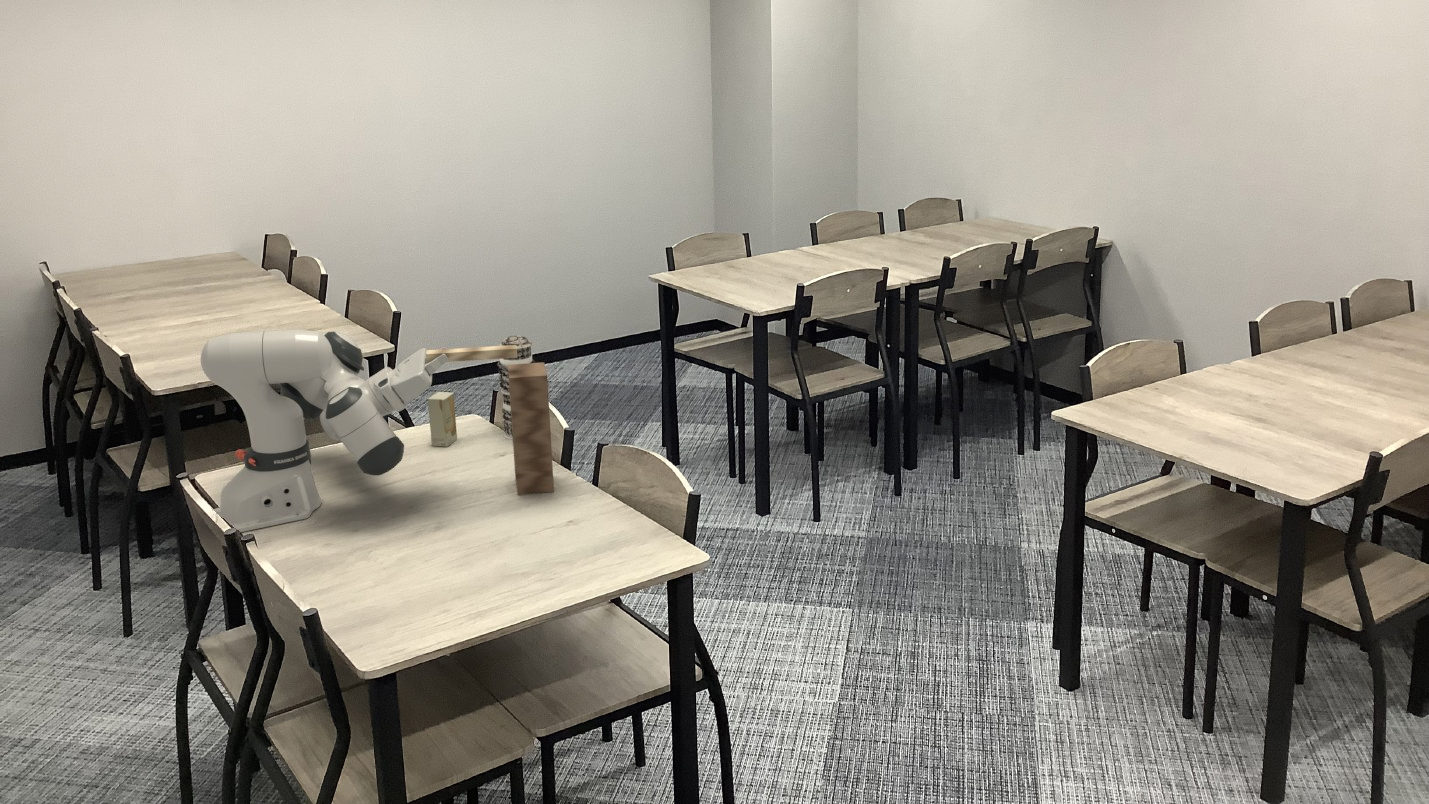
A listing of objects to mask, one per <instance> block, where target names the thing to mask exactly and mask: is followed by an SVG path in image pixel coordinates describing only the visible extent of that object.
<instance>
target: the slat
mask: <svg viewBox="0 0 1429 804" xmlns="http://www.w3.org/2000/svg"><path fill="white" fill-rule="evenodd" d="M442 353H445V354H446V355H447V356H448V362H447V363H449V362H450V363H454V362H467V361H469V362H470V361H484V360H486V361H487V360H498V359H499V360H500V359H502V358H518V357H517V346H516V345H506V346H499V345H493V346H492V345H490V346H473V347H462V348H461V347H458V348H446V349H441V348H440V349H427V351H426V357H427V363H429V362H431V361H433V360H434V359H436V358H437V356H439V355H441V354H442Z"/></svg>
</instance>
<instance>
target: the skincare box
mask: <svg viewBox="0 0 1429 804" xmlns="http://www.w3.org/2000/svg"><path fill="white" fill-rule="evenodd" d="M427 403H428V405H427V406H428V415H429V417H428V418H429V429H430V439H431V440H430V441H431V446H434V447H445V448H446V447H448V446H450V445H452V444H453V443H454V442H455V441H456V440H458V434H457V433H458V432H457V423H456V422H457V421H456V420H457V419H456V407H455V395H454V392H447V391H437V392H436V393H434V394H432V395H431V396H429V398H427Z"/></svg>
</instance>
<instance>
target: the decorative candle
mask: <svg viewBox="0 0 1429 804" xmlns="http://www.w3.org/2000/svg"><path fill="white" fill-rule="evenodd" d="M532 344H533V342H531V341H530V340H528V338H527V337H526V336H523V335H522V336H521V335H511V336H505V338H503V339H502V341H501V342H500V343H499V344H498V346H506V345H516V346H517V357H518V358H502V359H499V360H498V361H497V364H496V365H497V367H498V369H497V371H498V374H499V377H498V379H499V387H500V388H501V389H500V392H501V394H502V400H503V401H502V410H501V411H502V414H503V415H502V419H504V420H503V421H502V424H503V427H502V428H503V431H504V433H503V436H504V437H505V439H508V440H511V441H513V436H512V421H511V406H510V392H509V377H508V365H512V364H527V363H536V360H535V359H534V358H533V354H532V348H531V346H533V345H532Z"/></svg>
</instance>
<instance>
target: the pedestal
mask: <svg viewBox="0 0 1429 804" xmlns="http://www.w3.org/2000/svg"><path fill="white" fill-rule="evenodd" d="M545 365H546V364H545V361H544V362H535V363H527V364H512V365H508V377H509V392H510V406H511V421H512V436H513V440H512V448H513V449H512V450H513V462H514V463H513V464H514V477H515V485H516V494H517V496H521V495H523V494H524V495H532V494H533V493H535V494H543V493H545V492H547V493H554V492H555V487H554V486H555V485H554V471H553V469H554V468H553V453H552V434H551V419H550V418H551V417H550V401H549V385H548V373H547V367H546V366H545ZM545 494H546V493H545ZM524 495H523V496H524ZM533 495H534V494H533Z"/></svg>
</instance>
